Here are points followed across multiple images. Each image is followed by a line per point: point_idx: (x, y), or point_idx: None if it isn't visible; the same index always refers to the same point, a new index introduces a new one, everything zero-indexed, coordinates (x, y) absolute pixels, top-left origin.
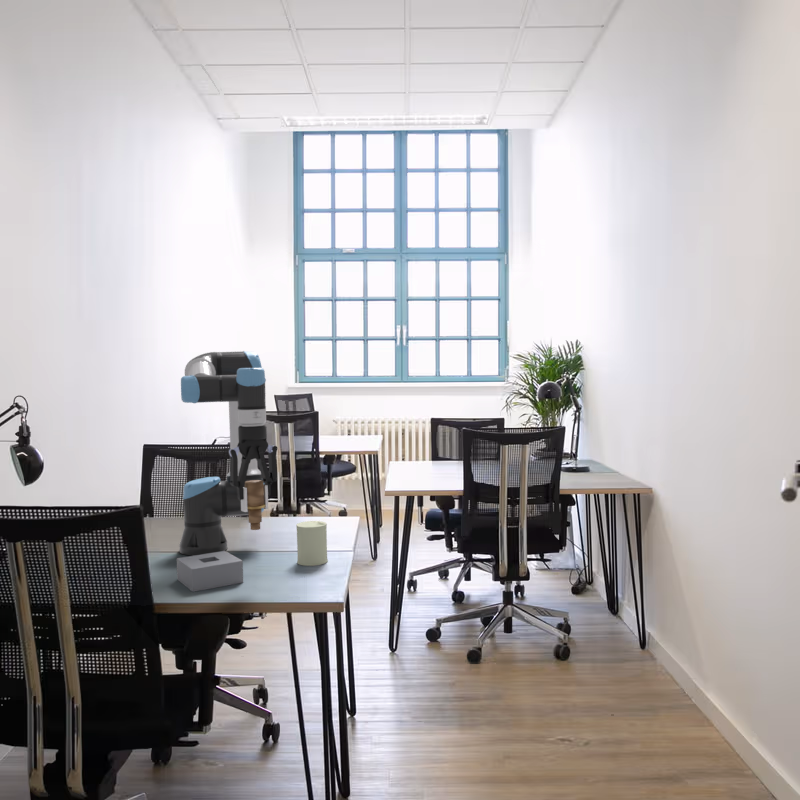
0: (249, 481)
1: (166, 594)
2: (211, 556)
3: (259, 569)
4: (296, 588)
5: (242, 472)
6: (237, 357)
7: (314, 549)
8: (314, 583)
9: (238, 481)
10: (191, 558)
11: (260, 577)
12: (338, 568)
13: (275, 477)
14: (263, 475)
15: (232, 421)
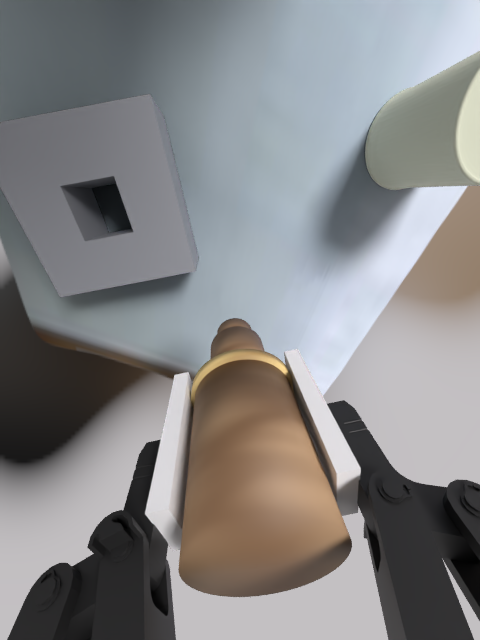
0: (229, 553)
1: (27, 273)
2: (102, 167)
3: (257, 149)
4: (283, 337)
5: None
6: None
7: (420, 186)
8: (322, 323)
9: (111, 605)
10: (31, 161)
11: (242, 233)
12: (414, 242)
13: (476, 568)
14: (390, 619)
15: None
